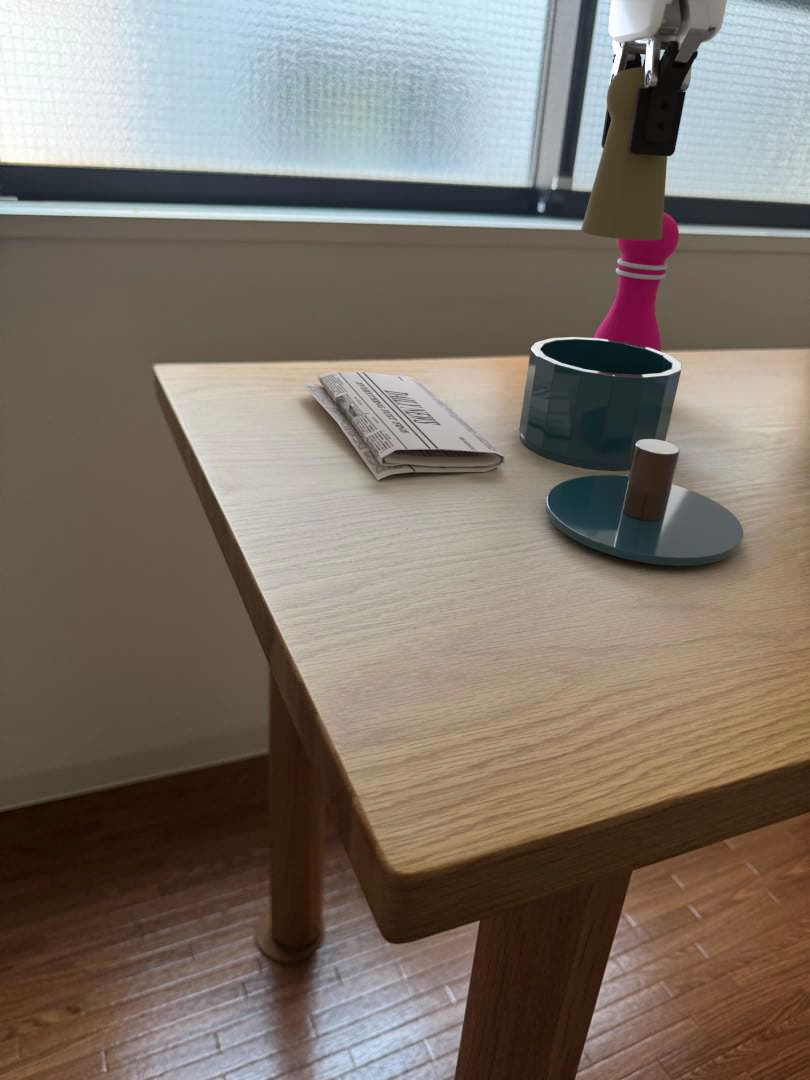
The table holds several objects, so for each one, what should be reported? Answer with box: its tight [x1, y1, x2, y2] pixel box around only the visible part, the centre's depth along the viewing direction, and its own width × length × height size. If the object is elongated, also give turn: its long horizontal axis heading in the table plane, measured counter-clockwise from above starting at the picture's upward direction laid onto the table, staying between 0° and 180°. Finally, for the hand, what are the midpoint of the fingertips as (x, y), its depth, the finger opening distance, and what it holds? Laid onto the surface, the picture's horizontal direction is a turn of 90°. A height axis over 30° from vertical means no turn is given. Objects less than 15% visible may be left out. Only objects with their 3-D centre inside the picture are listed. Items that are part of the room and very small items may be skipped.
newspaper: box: [301, 371, 506, 481], centre depth 76 cm, size 23×12×2 cm, turn 18°
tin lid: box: [545, 439, 744, 567], centre depth 60 cm, size 14×14×6 cm
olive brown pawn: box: [580, 66, 668, 240], centre depth 62 cm, size 6×6×11 cm
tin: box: [518, 336, 683, 471], centre depth 75 cm, size 13×13×8 cm
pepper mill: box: [593, 211, 680, 352], centre depth 88 cm, size 7×7×20 cm
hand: (636, 149), depth 62 cm, fingers closed on olive brown pawn, 5 cm apart
